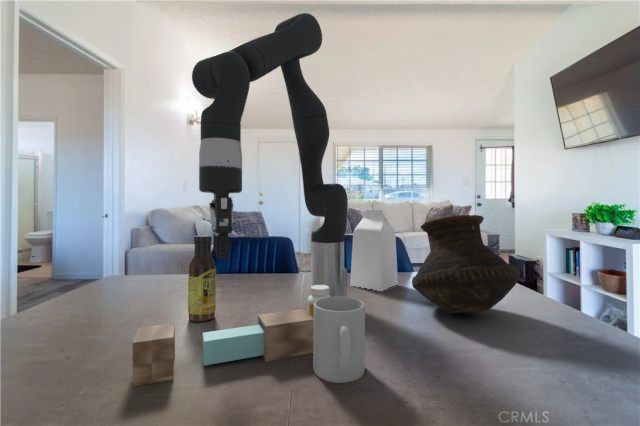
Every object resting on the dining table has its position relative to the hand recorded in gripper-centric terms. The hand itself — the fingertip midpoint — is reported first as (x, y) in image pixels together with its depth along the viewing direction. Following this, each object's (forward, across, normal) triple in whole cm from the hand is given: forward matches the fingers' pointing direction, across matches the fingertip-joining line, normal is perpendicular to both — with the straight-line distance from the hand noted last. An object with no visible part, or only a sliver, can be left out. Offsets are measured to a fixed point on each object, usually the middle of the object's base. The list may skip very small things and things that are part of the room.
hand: (220, 254), depth 59 cm
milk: (+18, +34, -53) cm, 65 cm away
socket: (+18, -4, +10) cm, 21 cm away
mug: (+18, -15, -17) cm, 29 cm away
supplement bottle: (+18, +3, -21) cm, 28 cm away
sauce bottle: (+18, +20, +3) cm, 27 cm away
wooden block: (+18, -3, -11) cm, 21 cm away
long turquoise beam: (+17, -4, -6) cm, 19 cm away
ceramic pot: (+18, 0, -58) cm, 61 cm away
